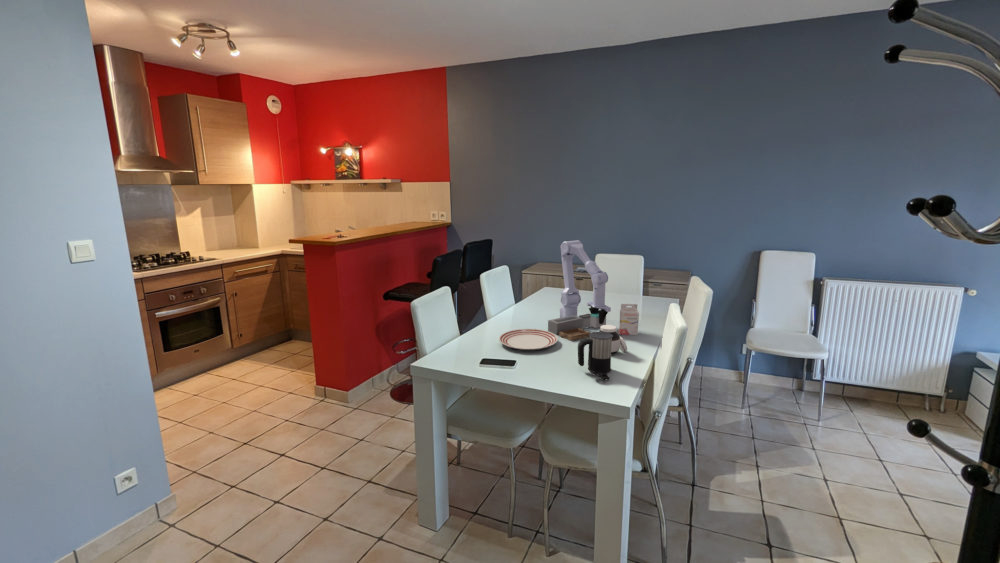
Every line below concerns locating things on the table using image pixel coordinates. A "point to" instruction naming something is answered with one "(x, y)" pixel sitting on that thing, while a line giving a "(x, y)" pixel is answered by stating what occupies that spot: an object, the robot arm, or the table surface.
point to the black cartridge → (586, 320)
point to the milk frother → (597, 354)
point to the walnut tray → (574, 334)
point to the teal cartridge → (596, 320)
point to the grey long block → (564, 324)
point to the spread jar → (614, 339)
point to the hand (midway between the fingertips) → (598, 322)
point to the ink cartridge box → (629, 319)
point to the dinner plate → (528, 339)
